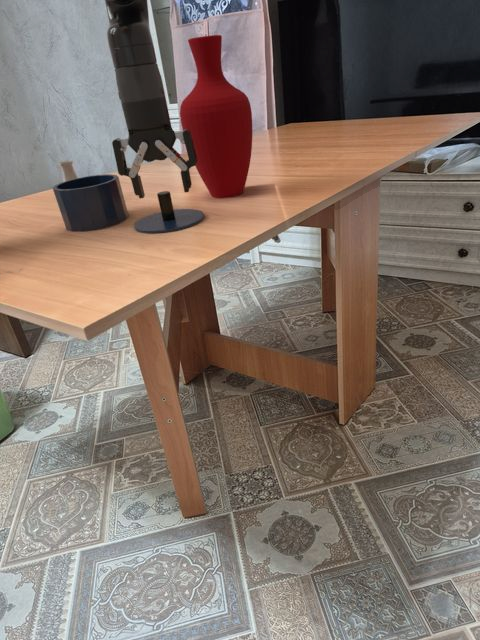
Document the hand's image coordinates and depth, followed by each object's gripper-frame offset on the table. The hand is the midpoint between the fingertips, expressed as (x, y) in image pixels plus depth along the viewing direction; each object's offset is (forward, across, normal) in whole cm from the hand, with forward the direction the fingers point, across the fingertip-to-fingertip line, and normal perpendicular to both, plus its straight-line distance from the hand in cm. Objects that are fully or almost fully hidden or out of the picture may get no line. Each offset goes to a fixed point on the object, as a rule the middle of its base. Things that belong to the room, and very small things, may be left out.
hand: (164, 194), depth 87 cm
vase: (+6, -11, -17) cm, 21 cm away
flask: (+6, +26, -27) cm, 38 cm away
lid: (+5, 0, 0) cm, 5 cm away
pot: (+6, +16, -7) cm, 18 cm away
